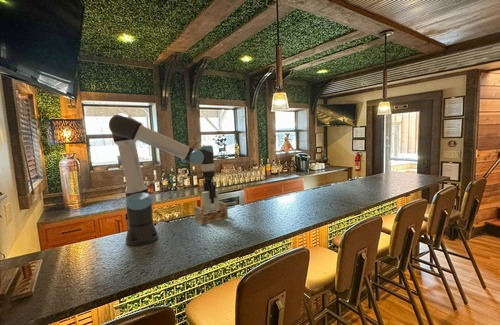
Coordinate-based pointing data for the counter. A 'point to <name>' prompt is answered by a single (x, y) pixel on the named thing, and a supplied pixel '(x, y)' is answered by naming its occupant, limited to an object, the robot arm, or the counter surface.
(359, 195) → the counter surface
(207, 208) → the door panel
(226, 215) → the track
